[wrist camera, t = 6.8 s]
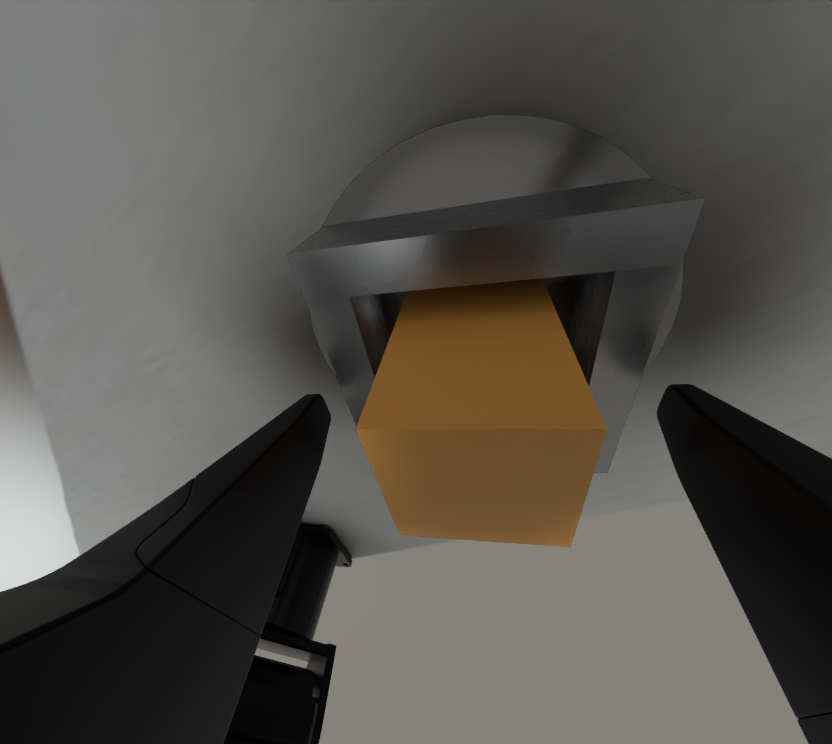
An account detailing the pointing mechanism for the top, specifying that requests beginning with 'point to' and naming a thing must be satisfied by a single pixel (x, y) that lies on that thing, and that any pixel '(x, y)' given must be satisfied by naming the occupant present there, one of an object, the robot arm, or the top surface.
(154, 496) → the top surface
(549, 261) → the rosette collar
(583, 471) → the orange rectangular block
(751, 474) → the robot arm
